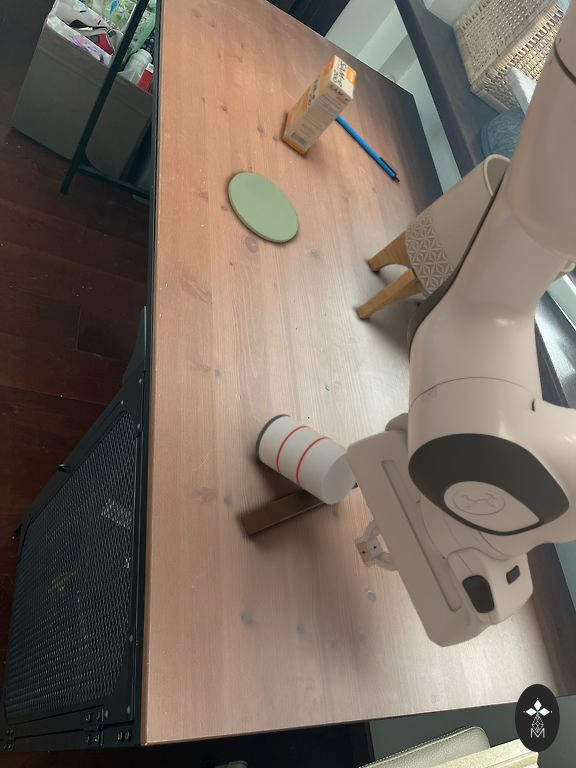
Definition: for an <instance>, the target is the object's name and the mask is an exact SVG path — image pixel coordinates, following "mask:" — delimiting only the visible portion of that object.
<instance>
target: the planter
mask: <svg viewBox="0 0 576 768" xmlns="http://www.w3.org/2000/svg"><path fill="white" fill-rule="evenodd" d="M510 159H511V158H508V157H506V156H504V155H501V154H499V153H498V154H496V153H493V154H489V155H488V156H487V157H486V158H485V159H483V160H482V161H481V162H480V163H478V164H477V165H476V166H475V167H473V169H472V170H470V171H469V172H467V173H466V174H465V175H464V176H463V177H462V178H461V179H459V180H458V181H457V182H456V183H454V184H453V185H452V186H451V187H450V188H449V189H448V190H446V191H445V192H444V193H443V194H442V195H440V196H439V197H438V198H437V199H436V200H434V201H433V202H432V203H431V204H429V206H427V207H426V208H425V209H423V210H422V211H421V212H420V213H419V214H417V216H415V217H414V218H413V219H412V220H411V221H410V222H409V223H408V225H407V226H406V229H405V230H404V231H403V232H401V233H400V234H399V235H398V236H397V237H395V238H394V239H392V240H391V242H390V243H388V244H387V245H386V246H385V247H384V248H382V250H380V251H379V252H377V253H376V254H375V255H374V256H373V257H371V258H370V259H369V260H368V261H367V263H368V265H369V268H370V269H371V271H372V272H379V271H380V270H382V269H383V268H385V267H388V266H392V265H398V266H399V265H400V266H403V267H405V268H407V270H406V271H404V272H403V273H402V274H400V276H398V277H397V278H396V279H394V280H393V281H391V282H390V283H389V284H387V285H386V286H385V287H383V288H382V289H381V290H380V291H379V292H377V293H376V294H375V295H373V296H372V297H371V298H370V299H368V300H367V301H365V302H364V303H363V304H362V305H360V306H359V307H357V308H356V312H357V315H358V316H359V319H368V318H369V317H371V316H372V315H374V314H376V313H377V312H379V311H380V310H383V309H384V308H386V307H388V306H390V305H392V304H394V303H397V302H398V301H400V300H401V301H402V300H403V299H406V298H408V297H411V296H414V295H418V294H422V296H423V297H424V298H425V299H426V298H427V297H429V296H430V295H431V294H432V293H433V292H434V291H435V290H436V289H437V288H438V287H439V286H440V285H442V284H443V283H444V282H445V281H446V280H447V278H448V277H449V276H450V275H451V274H452V272H453V271H454V270H455V268H456V267H457V265H458V263H459V262H460V260H461V258H462V256H463V254H464V252H465V250H466V248H467V246H468V244H469V242H470V240H471V238H472V236H473V234H474V232H475V230H476V228H477V226H478V224H479V222H480V220H481V217H482V215H483V213H484V211H485V209H486V207H487V205H488V203H489V201H490V199H491V197H492V195H493V193H494V191H495V189H496V187H497V185H498V183H499V181H500V179H501V177H502V175H503V174H504V172H505V170H506V168H507V166H508V164H509V161H510ZM575 268H576V264H575V263H572V262H570V261H567V263H566V264H565V265H564V267H563V268H562V269H561V271H560V272H559V274H558V275H557V276H556V278H555V279H554V280H553V282H552V283H551V284H553V283H554V282H556V281H558V280H560V279H562V277H564V276H567V274H569V273H571V272H572V271H573V270H575ZM421 304H422V302H420V303H419V306H420V305H421Z"/></svg>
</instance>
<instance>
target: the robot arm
mask: <svg viewBox="0 0 576 768" xmlns="http://www.w3.org/2000/svg"><path fill="white" fill-rule="evenodd" d="M509 159H510V161H509V164H508V166H507V168H506V170H505V172H504V174H503V175H502V177H501V179H500V181H499V183H498V185H497V187H496V189H495V191H494V193H493V195H492V197H491V199H490V201H489V203H488V205H487V207H486V209H485V211H484V213H483V215H482V217H481V220H480V222H479V224H478V226H477V228H476V230H475V232H474V234H473V236H472V238H471V240H470V242H469V244H468V246H467V248H466V250H465V252H464V254H463V256H462V258H461V260H460V262H459V263H458V265H457V267H456V268H455V270H454V271H453V272H452V274H451V275H450V276H449V277H448V278H447V280H446V281H445V282H444V283H443V284H442V285H440V286H439V287H438V288H437V289H436V290H435V291H434V292H433V293H432V294H431V295H430V296H429V297H427V298H425V299H424V300H423V301H422V302H421V303H422V304H421V303H420V304H421V305H420V304H419V305H418V307H417V308H416V309H415V310H414V312H413V314H412V316H411V318H410V320H409V323H408V326H407V333H406V335H407V336H406V337H407V338H406V339H407V352H408V353H407V355H408V363H409V376H408V377H409V378H408V380H409V381H408V406H407V407H408V410H407V411H408V412H403V413H399V414H398V415H396V416H394V417H393V418H391V419H389V421H388V422H387V423H386V425H385V427H384V430H383V431H380V432H377V433H374V434H371V435H369V436H366V437H363V438H361V439H359V440H356V441H354V442H351V443H350V444H349V445H348V447H347V448H348V449H347V453H346V459H347V461H348V464H349V466H350V468H351V470H352V472H353V474H354V477H355V479H356V482H357V484H358V488H359V489H360V492H361V494H362V496H363V499H364V500H365V503H366V504H367V507H368V509H369V511H370V514H371V516H372V518H373V519H372V520H371V521H369V522H368V524H367V526H366V527H365V530H364V532H363V534H362V535H361V536H359V537H357V538H355V539H353V543H354V545H355V547H356V550H357V551H358V554H359V556H360V559H361V561H362V563H363V565H364V568H368V567H372V566H374V565H376V566H377V567H379V568H382V569H385V570H386V571H389V572H395V571H397V573H398V575H399V577H400V579H401V581H402V584H403V586H404V587H405V590H406V593H407V594H408V596H409V598H410V600H411V604H412V605H413V608H414V610H415V612H416V614H417V616H418V618H419V621H420V623H421V624H422V627H423V629H424V631H425V633H426V636H427V638H428V640H429V641H430V642H431V643H433V644H434V645H437V646H439V647H441V648H447V647H452V646H456V645H459V644H463V643H465V642H467V641H470V640H472V639H475V638H477V637H478V636H479V635H481V634H482V633H483V632H484V631H485V630H487V629H488V628H489V627H490V626H496V625H499V624H500V623H503V622H505V621H506V620H508V619H509V618H511V617H512V616H513V615H515V614H516V613H517V612H518V611H519V610H520V609H521V608H522V607H523V606H524V605H525V604H526V603H527V601H528V600H529V599H530V597H531V596H532V594H533V592H534V586H533V580H532V576H531V570H530V566H529V561H528V555H527V553H529V552H530V551H532V550H533V549H534V548H536V547H538V546H540V545H543V544H565V543H570V542H573V541H576V408H570V407H564V406H559V405H556V404H553V403H550V402H548V401H547V400H544V399H543V393H542V385H541V377H540V376H541V375H540V370H539V362H538V361H539V360H538V352H537V329H536V328H537V327H536V326H537V325H536V310H537V306H538V304H539V301H540V300H541V298H543V296H544V294H545V293H546V291H547V290H548V288H550V286H551V285H552V284H553V283H554V282H553V280H554V279H555V278H556V276H557V275H558V274H559V272H560V271H561V269H562V268H563V267H564V265H565V264H566V263H567V261H570V262H572V263H575V264H576V0H570V2H569V4H568V6H567V9H566V11H565V14H564V15H563V17H562V21H561V23H560V25H559V27H558V29H557V32H556V35H555V36H554V40H553V42H552V44H551V46H550V49H549V51H548V54H547V56H546V58H545V61H544V63H543V65H542V68H541V71H540V74H539V76H538V78H537V82H536V84H535V86H534V90H533V93H532V95H531V98H530V101H529V104H528V106H527V108H526V111H525V114H524V117H523V120H522V123H521V126H520V129H519V132H518V135H517V138H516V142H515V145H514V148H513V151H512V154H511V156H510V158H509ZM552 282H553V283H552ZM379 535H381V538H382V540H383V542H384V544H385V547H386V549H387V551H388V552H387V551H384V549H383V547H382V546H381V543H380V541H379V538H378V537H379Z"/></svg>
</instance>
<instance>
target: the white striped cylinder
mask: <svg viewBox="0 0 576 768" xmlns="http://www.w3.org/2000/svg"><path fill="white" fill-rule="evenodd" d="M347 449H348V447H346V446H345V445H343V444H341V443H339V442H337V441H335V440H334V439H332V438H330V437H328V436H326V435H325V434H322V433H321V432H319V431H317V430H316V429H313V428H312V427H310V426H308V425H306V424H305V423H303V422H301V421H299V420H298V419H296V418H294V417H292V416H291V415H289V414H284V413H283V414H277V415H275V416H273V417H271V418H270V419H269V420H268V421H267V422H266V423H265V424H264V426H263V427H262V428H261V430H260V432H259V434H258V436H257V438H256V443H255V453H256V454H255V455H256V457H257V459H258V460H259V461H260V462H261V463H262V464H264V465H266V466H267V467H269V468H270V469H272V470H273V471H276V472H277V473H279V474H280V475H281V476H282V477H284V478H286V479H288V480H289V481H291V482H292V483H294V484H296V485H297V486H298V487H300V488H302V490H304V489H305V490H306V491H308V492H309V493H311V494H313V495H314V496H316V497H317V498H319V499H320V500H322V501H323V502H324V503H325V504H327V505H336V504H338V503H340V502H342V500H344V499H345V498H346V497H347V496H348V495H349V494H350V493H351V491H352V490H351V489H352V488H353V486H354V485H355V483H356V482H357V481H356V479H355V477H354V474H353V472H352V470H351V468H350V466H349V464H348V461H347V459H346V453H347Z"/></svg>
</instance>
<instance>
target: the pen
mask: <svg viewBox="0 0 576 768" xmlns="http://www.w3.org/2000/svg"><path fill="white" fill-rule="evenodd" d="M335 120H336V121H337V122H338V123H339V124H340V125H341V126H342V127H343V129H345V130H346V131H347V132H348V133H349V135H351V136H352V137H353V139H354V140H355V141H357V143H358V144H359V145H360V146H361V147H362V148H363V149H364V150H365V151H366V152H367V153H368V154H369V155H370V156H371V157H372V158H373V160H375V161H376V162H377V163H378V165H380V167H381V168H382V169H383V170H384V171H385V172H386V173H387V174H388V175H389V176H390V178H392V179H395V180H396V181H397V182H398V183H400V182H401V180H400V178H398V177H397V176H398V173H397V172H396V171H395V170H394V169H393V168H392V167H391V166H390V165H389V163H387V162H386V160H384V158H383V157H382V156H379V155H378V154H377V153H376V152H375V151H374V149H372V148H371V146H370V145H369V144H367V142H366V141H365V140H364V139H363V138H362V137H361V136H360V135H359V134H358V133H357V132H356V131H355V130H354V128H352V127H351V125H350V124H349V123H348V122H347V121H346V120H345V119H344V118H343V117H342V116H341V114H339V116H338V117H337V118H336V119H335Z"/></svg>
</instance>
